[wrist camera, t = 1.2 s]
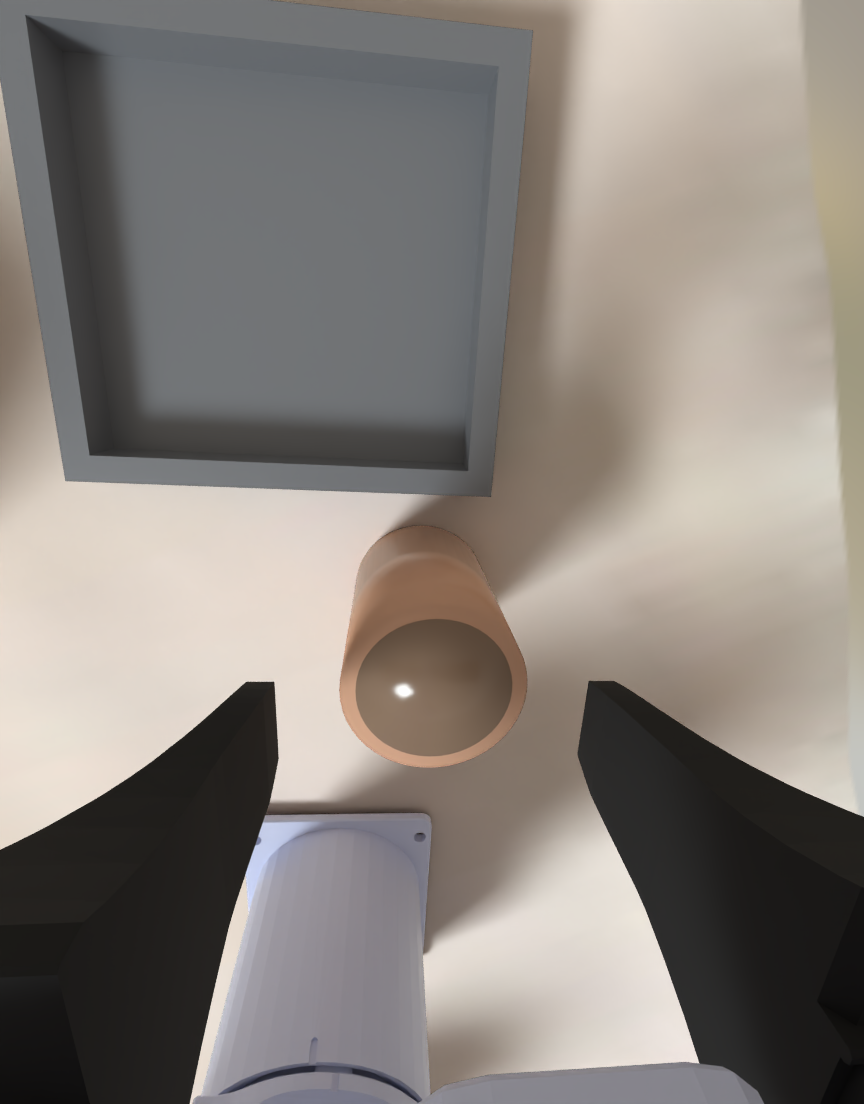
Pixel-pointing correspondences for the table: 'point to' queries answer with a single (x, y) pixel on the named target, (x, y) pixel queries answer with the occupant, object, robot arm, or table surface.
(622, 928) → the table surface
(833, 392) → the table surface
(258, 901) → the robot arm
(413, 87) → the charcoal tray
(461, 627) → the terracotta cup
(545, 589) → the table surface
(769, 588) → the table surface
